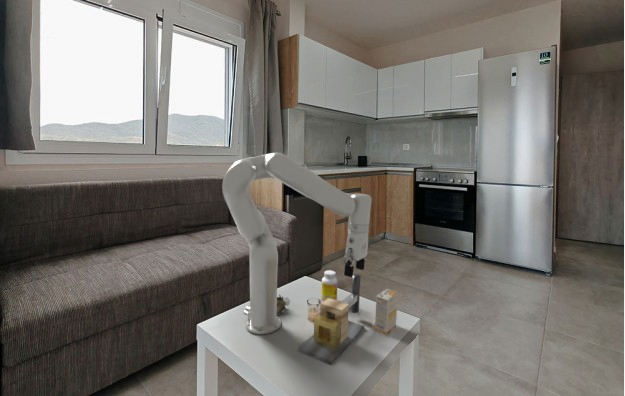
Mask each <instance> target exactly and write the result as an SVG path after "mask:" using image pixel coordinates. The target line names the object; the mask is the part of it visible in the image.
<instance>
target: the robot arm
mask: <svg viewBox="0 0 625 396" xmlns="http://www.w3.org/2000/svg"><path fill="white" fill-rule="evenodd" d="M268 178H274V179H275V180H276V181H279V182H280V183H283V184H284V185H285V186H287V187H289V188H291V189H292V190H294V191H296V192H298V193H299V194H301V195H302V196H305V197H306V198H308V199H310V200H313V201H314V202H316V203H317V204H319V205H320V206H322V207H325V208H326V209H328V210H329V211H331V212H333V213H335V214H336V215H337V216H339V217H343V218H344V217H348V223H347V232H348V234H347V239H346V247H345V254H344V255H343V259H344V260H343V261H344V275H343V276H345V277H349V278H352V277H353V275H354V264H355V269H357V270H359V271H360V270H361V271H363V270H365V262H366V257H367V255H368V254H369V253H368V251H369V232H370V231H369V228H370V219H371V208H372V197H371V195H369V194H365V193H347V192H344V191H342V190H341V189H339V188H337V187H336V186H334V185H333V184H331V183H329V182H328V181H326V180H324V179H323V177H321V176H319V175H318V174H316V173H315V172H314V171H312V170H310V169H308V168H307V167H305V166H303V165H302V164H300V163H299V162H297V161H296V160H294V159H292V158H291V157H289V156H287V155H285V154H284V153H281V152H271V153H267V154H261V155H257V156H253V157H251V156H250V157H246V158H241V159H239V160H236V161H235V162H234V163H233V164H232V165H231V166H230V167H229V168H228V169H227V172H226V173H225V175H224V177H223V180H222V184H221V186H222V195H223V198H224V201H225V203H226V205H227V207H228V209H229V212H230V214H231V217H232V218H233V221H234V223H235V225H236V228H237V231H238V232H239V234H240V236H241V237H242V238H244V239H245V241H246V243H247V245H248V247H249V306H246V307H245V310H244V311H243V315H244V316H247V319H246V321H245V328H246V330H247V331H249V332H250V333H252V334H255V335H256V334H257V335H267V334H271V333H274V332H275V331H278V330H279V329H280V327H281V326H282V320H281V318H280V317H279V315H278V316H277V297H278V264H279V263H278V262H279V254H278V253H279V252H278V248H277V244H276V240H275V239H274V236H273V234H272V232H271V229H270V228H269V226H268V223H267V221H266V218H265V217H264V214H263V213H262V212H261V211H260V210H259V209H258V208H257V206H256V204H255V201H254V198H253V197H252V194H251V192H250V185H251V183H253V182H254V181H258V180H259V181H260V180H263V179H268Z"/></svg>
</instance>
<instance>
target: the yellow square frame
mask: <svg viewBox="0 0 625 396" xmlns="http://www.w3.org/2000/svg"><path fill="white" fill-rule="evenodd" d="M323 327H325V328H328V329H331V335H330V336H328V335H326V334H323ZM313 335H314V341H315V342H317V343H320V344H322V345H325V346H327V347H330V348H332V349H336V348H337V347H338V346H339V345H340V321H337V320H334V319H331V318H328V317H325V316H322V315H320V314H318V315H317V316H315V317H314V318H313Z"/></svg>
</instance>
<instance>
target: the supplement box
mask: <svg viewBox="0 0 625 396" xmlns="http://www.w3.org/2000/svg"><path fill="white" fill-rule="evenodd" d="M375 297H376V298H375V317H374V330H375V331H376V330H377V332H379V333H381V332H382V333H381V334H384V333H385V334H384V335H387V334H389V332H390V331H391V330H392V328H393V327H394V326H395V325H396V326H397V313H398V302H399V301H398V298H399V292H398V291H395V290H393V289H389V288H386V289H384V290H383V291H381V292H380V293H378V294H377V295H376V296H375ZM396 326H395V327H396ZM395 327H394V328H395ZM394 328H393V329H394Z"/></svg>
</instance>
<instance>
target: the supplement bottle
mask: <svg viewBox="0 0 625 396" xmlns="http://www.w3.org/2000/svg"><path fill="white" fill-rule="evenodd" d="M323 274H324V276H323V277H322V278H321V295H320V301H321V303H322V302H323V301H324V300H326V299H327V298H330V299H334V300H337V301H338V283H339V282H338V278H337V277H336V271H334V270H330V269H329V270H325V271H324V273H323Z"/></svg>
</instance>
